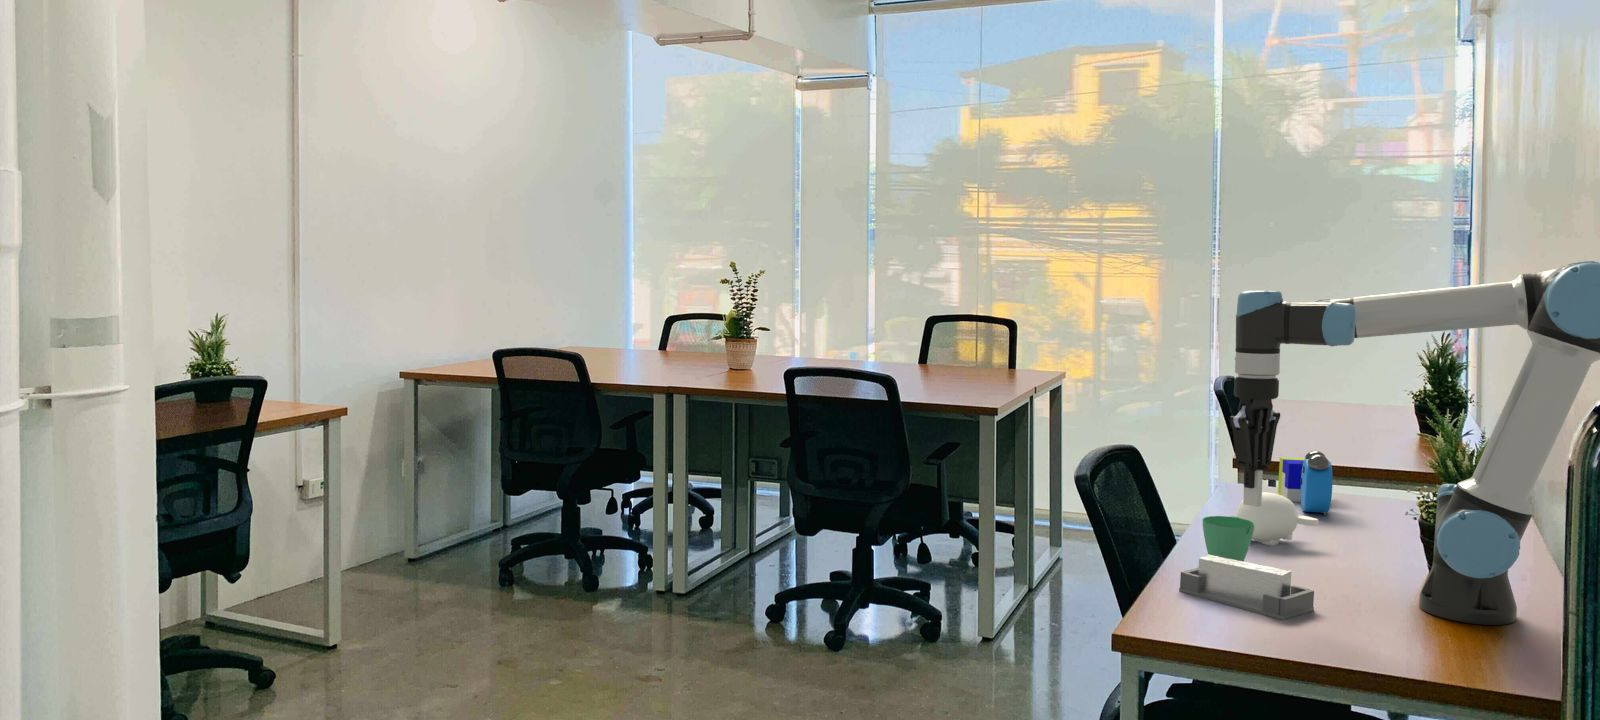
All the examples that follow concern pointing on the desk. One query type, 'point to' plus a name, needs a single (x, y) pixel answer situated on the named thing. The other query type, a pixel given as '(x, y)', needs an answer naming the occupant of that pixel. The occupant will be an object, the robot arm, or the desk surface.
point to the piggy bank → (1273, 518)
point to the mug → (1227, 536)
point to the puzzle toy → (1290, 478)
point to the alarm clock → (1316, 483)
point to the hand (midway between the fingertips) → (1252, 504)
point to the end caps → (1271, 606)
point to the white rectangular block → (1242, 579)
